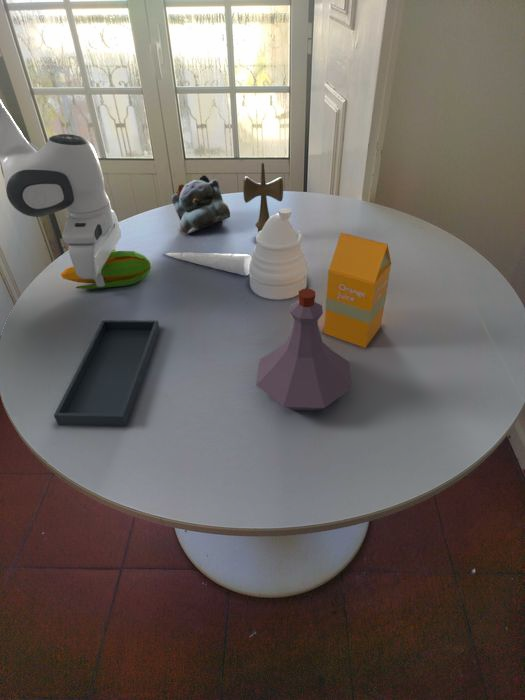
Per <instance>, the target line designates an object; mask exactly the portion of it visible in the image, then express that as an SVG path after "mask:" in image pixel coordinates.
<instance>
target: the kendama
mask: <svg viewBox="0 0 525 700" xmlns="http://www.w3.org/2000/svg"><path fill="white" fill-rule="evenodd" d="M265 171H266V170H265V163H264V162H262V163H261V168H260V173H261V174H260V182H256V181H254V180H253V179H251V178H250V177H248V176H244V178H243V183H242V185H243V186H242V187H243V189H242V191H243V192H242V193H243V200H244V202H245V204H247V203H249V202H251V201H252V200H253V199H255V198H257V197H260V207H259V214H258V219H257V221H256V222H255V227H256V228H257V234H258V232H260V231H261V230H262V228H263V227H264V225H265V223H266V222H267V220H268V219H269V218H270V217H271V216H270V213H269V207H268V199H267V197H270V198H272V199H274V200H275V201H278V202H282V201H283V198H284V179H283V177H281V176H280V177H277V178H276V179H273V180H272V181H270V182H266V172H265ZM257 234H256V235H257ZM254 240H255V242H256V236H254Z"/></svg>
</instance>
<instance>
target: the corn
mask: <svg viewBox="0 0 525 700" xmlns="http://www.w3.org/2000/svg"><path fill="white" fill-rule="evenodd" d="M151 267H152V265H151V261H150V260H149V258H147V257H146V255H144V254H142V253H140V252H138V251H135V250H116V251H113V252H111V254H110V256H109V258H108V259H107V261H106V263H105V264H104V266H103V268H102V269H101V275H102V276H105V280H106V283H105V285H104V286H103V287H98V286H97V285H96V283H95V280H94V279H81V278H80V277H79V276H78V275H77V274H76V271H75V269H74V266H73V265H71V266H69V267H66V268H65V269H64V270H63V271H62V272H61V273H60V276H61V278H62V279H63V280H67V281H71V282H74V283H79V284H85V285H77V286H75V289H79V290H80V289H82V290H99V289H108V288H115V287H125V286H132V285H135V284H137V283H138V282H140V281H142V280H144V279H145V278H146V277H147V276H148V274H149V273H150V271H151ZM86 284H87V285H86Z"/></svg>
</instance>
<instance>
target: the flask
mask: <svg viewBox="0 0 525 700" xmlns="http://www.w3.org/2000/svg"><path fill="white" fill-rule="evenodd" d="M315 299H316V291H315V290H313V289H311V288H305V289H302V290H300V291H299V295H298V300H297V301H295V302H293V303H292V304H290V305H289V306H290V307H289V313H290V315H291V317H292V318H293V324H292V327H291V330H290V332H289V335H288V338H287V341H285V342H284V343H282V344H281V345H280V346H279V347H277V348H276V349H275V350H273V351H271V352H269V353H268V354H266V355H265V356H263V357H261V358H259V360H258V368H257V377H256V386H257V388H259V389H260V390H262V391H263V392H264V393H265V394H267V395H268V396H269V397H270V398H271V399H273V400H274V401H275V402H277V403H278V404H279V405H280V406H282V407H283V408H286V409H288V410H290V411H318V410H321V409H325V408H327V407H328V406H329V405H332V403H333V402H335V401H336V400H337V399H339V398H340V397H342V396H343V395H344V394H346V393H348V391H350V390H351V389H352V387H353V386H352V378H351V370H350V361H349V360H347V359H346V358H345V357H343V356H341V355H340V354H338V353H337V352H335V351H334V350H333V349H332V348H331V347H330V346H328V345H327V344H326V343H325V342H323V339H322V335H321V332H320V328H319V324H318V323H319V322H318V321H319V319H320V318H321V316H322V315H323V313H324V312H323V311H324V309H323V305H322V304H320V303H318V302H317V301H315Z"/></svg>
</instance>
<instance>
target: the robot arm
mask: <svg viewBox="0 0 525 700" xmlns="http://www.w3.org/2000/svg"><path fill="white" fill-rule="evenodd" d="M0 170H1V174H2V177H3V180H4V186H5V191H6V196H7V200H8V201H9V203H10V204H11V206H12V207H13V208H14V209H15V210H16V211H18V212H19V213H21V214H23V215H25V216H28V217H33V218H41V217H46V216H49V215H52V214H55V213H57V212H60V211H62V210H65V212H66V215H65V224H64V228H63V230H62V234H61V237H62V240H63V243H64V244H67V245H68V254H69V257H70V261H71V263H72V266H74V269H75V271H76V274H77V275H78V276H79V277H80V278H81V279H94V280H95V283H94V284H96V285H97V286H98V287H103V286H104V285H105V283H106V280H105V276H102V275H101V269H102V268H103V266H104V264H105V263H106V261H107V259H108V258H109V256H110V254H111V252H113V251H117V247H116V246H117V244H118V243H119V241H120V240H121V238H122V229H121V227H120V222H119V220H118V216H117V214H116V212H115V210H114V209H112V206H111V201H110V198H109V196H108V194H107V192H106V189H105V178H104V174H103V170H102V166H101V163H100V160H99V158H98V154H97V152H96V150H95V147H94V145H93V144H92V143H91V142H90V141H89V140H87V139H86V138H84V137H82V136H80V135H76V134H70V133H69V134H68V133H61V134H56V135H52V136H50V137H48V139H47V141H46V143H45V144H44V145H42V147H40V148H38V147H37V146H35V145H34V144H33V143H31V141H29V139H28V138H27V137H26V136H25V135H24V133H23V132H22V130H21V129H20V128H19V126H18V125H17V123H16V121H15V120H14V119H13V117H12V115H11V114H10V112H9V111H8V109H7V108H6V106H5V104H4V103H3V102H2V100H1V99H0Z"/></svg>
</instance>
